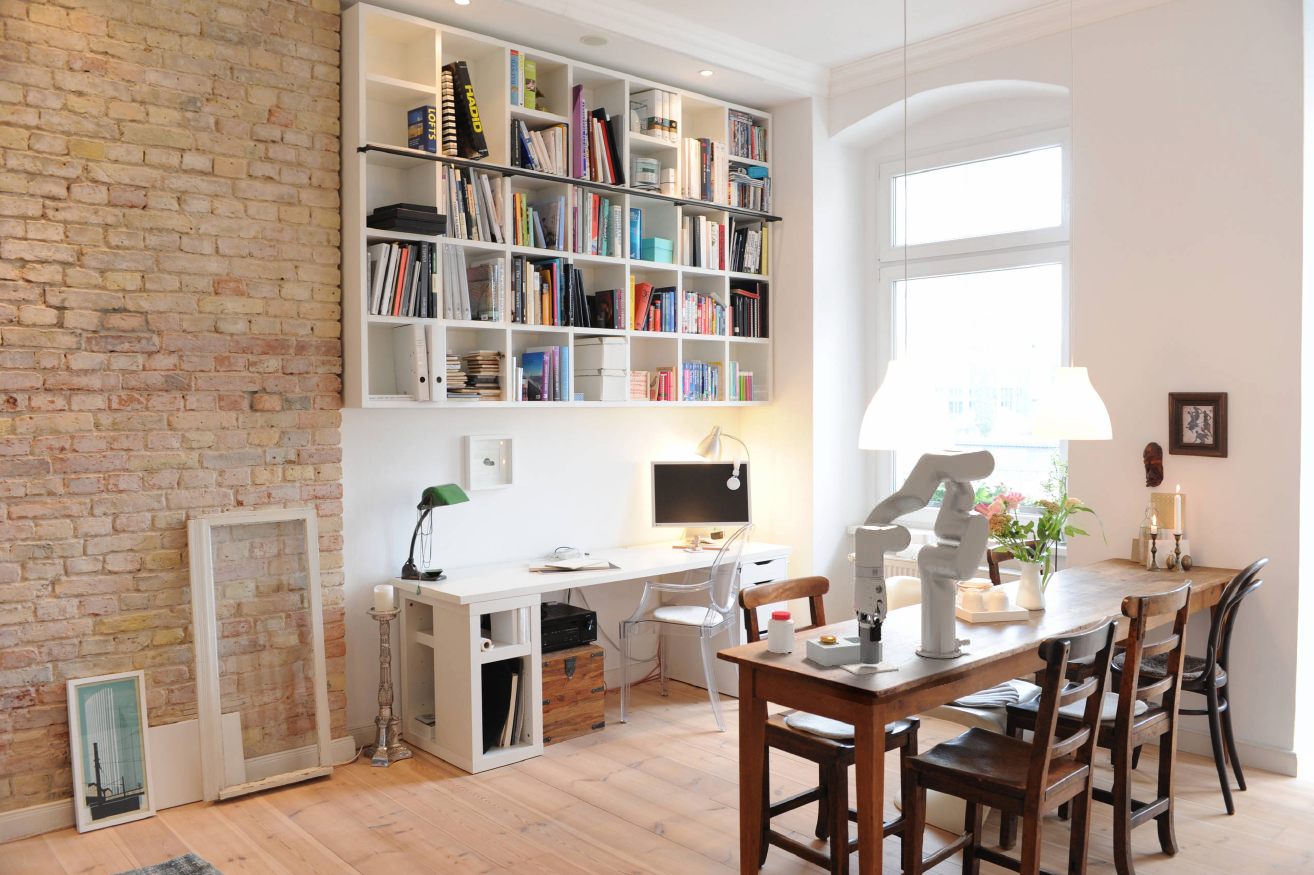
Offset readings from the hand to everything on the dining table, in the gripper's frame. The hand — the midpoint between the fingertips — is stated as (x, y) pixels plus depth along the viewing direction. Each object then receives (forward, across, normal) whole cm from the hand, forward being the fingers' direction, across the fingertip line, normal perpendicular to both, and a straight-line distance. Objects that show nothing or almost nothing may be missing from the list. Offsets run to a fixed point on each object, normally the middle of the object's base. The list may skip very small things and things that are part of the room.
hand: (869, 638), depth 275 cm
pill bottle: (+9, +28, +13) cm, 32 cm away
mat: (+8, 0, 0) cm, 8 cm away
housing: (+8, +12, +1) cm, 15 cm away
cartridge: (+7, 0, 0) cm, 7 cm away
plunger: (+8, +12, +6) cm, 16 cm away
